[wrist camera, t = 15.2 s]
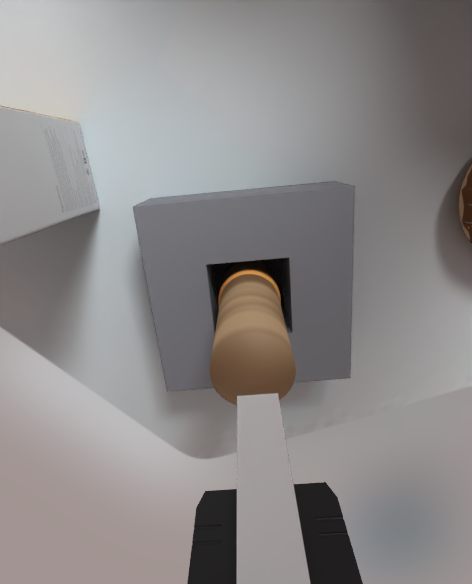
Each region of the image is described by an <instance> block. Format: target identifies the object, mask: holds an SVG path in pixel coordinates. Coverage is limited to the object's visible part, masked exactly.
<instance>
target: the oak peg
mask: <svg viewBox="0 0 472 584" xmlns="http://www.w3.org/2000/svg"><path fill="white" fill-rule="evenodd" d="M218 304H219V312H218V318H217V324H216V331H215V337H214V343H213V350H212V356H211V362H210V378H211V382H212V384H213V386H214V388H215V389H216V391H217V392H218V393H219V394H220V395H221V396H222V397H223V398H224V399H225V400H227V401H229V402H231V403H233V404H235V405H237V396H245V395H259V394H272V393H278V397H279V400H280V399H281V398H282V397H284V396H285V395H286V394H287V393H288V391H289V390H290V388H291V387H292V385H293V383H294V380H295V376H296V365H295V361H294V357H293V353H292V349H291V345H290V341H289V337H288V333H287V329H286V325H285V321H284V317H283V313H282V309H281V296H280V292H279V288H278V286H277V284H276V283H275V281H274V277H273V273H272V269H271V267H270V265H269V264H268V263H267V261H266V260H254V261H243V262H231V263H229V264H228V266H227V267H226V270H225V274H224V280H223V284H222V286H221V289H220V292H219V299H218Z"/></svg>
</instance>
